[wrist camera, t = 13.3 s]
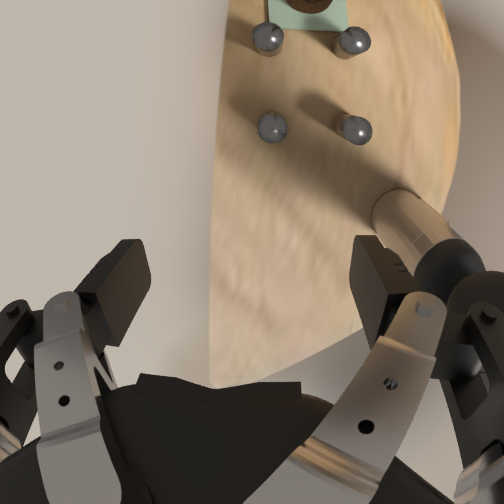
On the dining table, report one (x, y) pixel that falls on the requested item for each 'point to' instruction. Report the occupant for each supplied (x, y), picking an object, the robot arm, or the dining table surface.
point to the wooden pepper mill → (309, 5)
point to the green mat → (309, 17)
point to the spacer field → (343, 47)
